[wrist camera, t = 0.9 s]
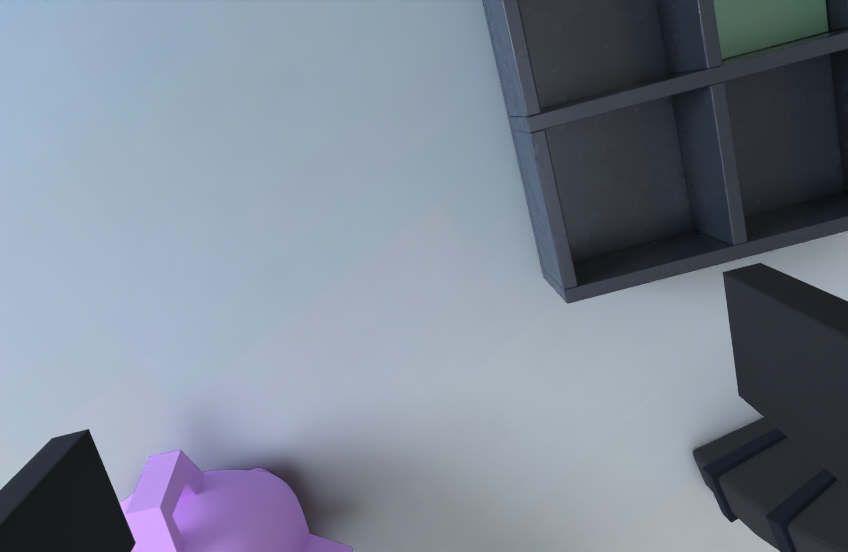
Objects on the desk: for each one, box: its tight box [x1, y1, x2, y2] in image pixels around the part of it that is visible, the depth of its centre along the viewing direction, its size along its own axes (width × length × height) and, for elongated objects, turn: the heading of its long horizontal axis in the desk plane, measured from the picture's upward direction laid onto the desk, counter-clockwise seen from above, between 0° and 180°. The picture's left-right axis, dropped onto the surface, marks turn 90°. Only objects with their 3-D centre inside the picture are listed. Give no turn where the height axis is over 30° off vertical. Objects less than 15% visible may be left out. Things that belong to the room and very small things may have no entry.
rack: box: [482, 0, 848, 303], centre depth 37 cm, size 19×19×6 cm
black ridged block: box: [693, 418, 848, 552], centre depth 40 cm, size 4×13×15 cm
